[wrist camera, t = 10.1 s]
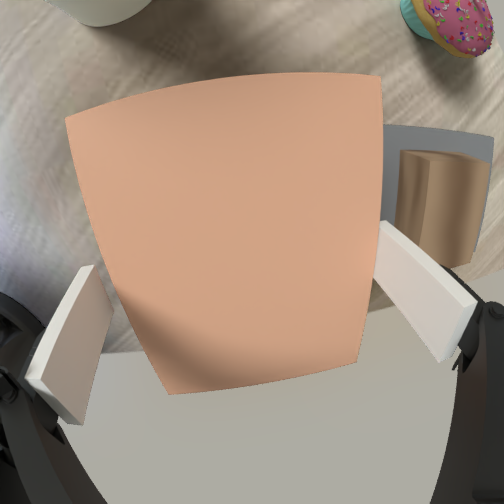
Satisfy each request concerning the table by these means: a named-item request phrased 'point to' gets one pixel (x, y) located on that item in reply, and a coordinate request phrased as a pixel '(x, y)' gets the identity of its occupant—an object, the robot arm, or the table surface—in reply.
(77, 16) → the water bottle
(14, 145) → the table surface
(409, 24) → the cupcake
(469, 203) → the brown wooden block
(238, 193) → the lid
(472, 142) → the mat
